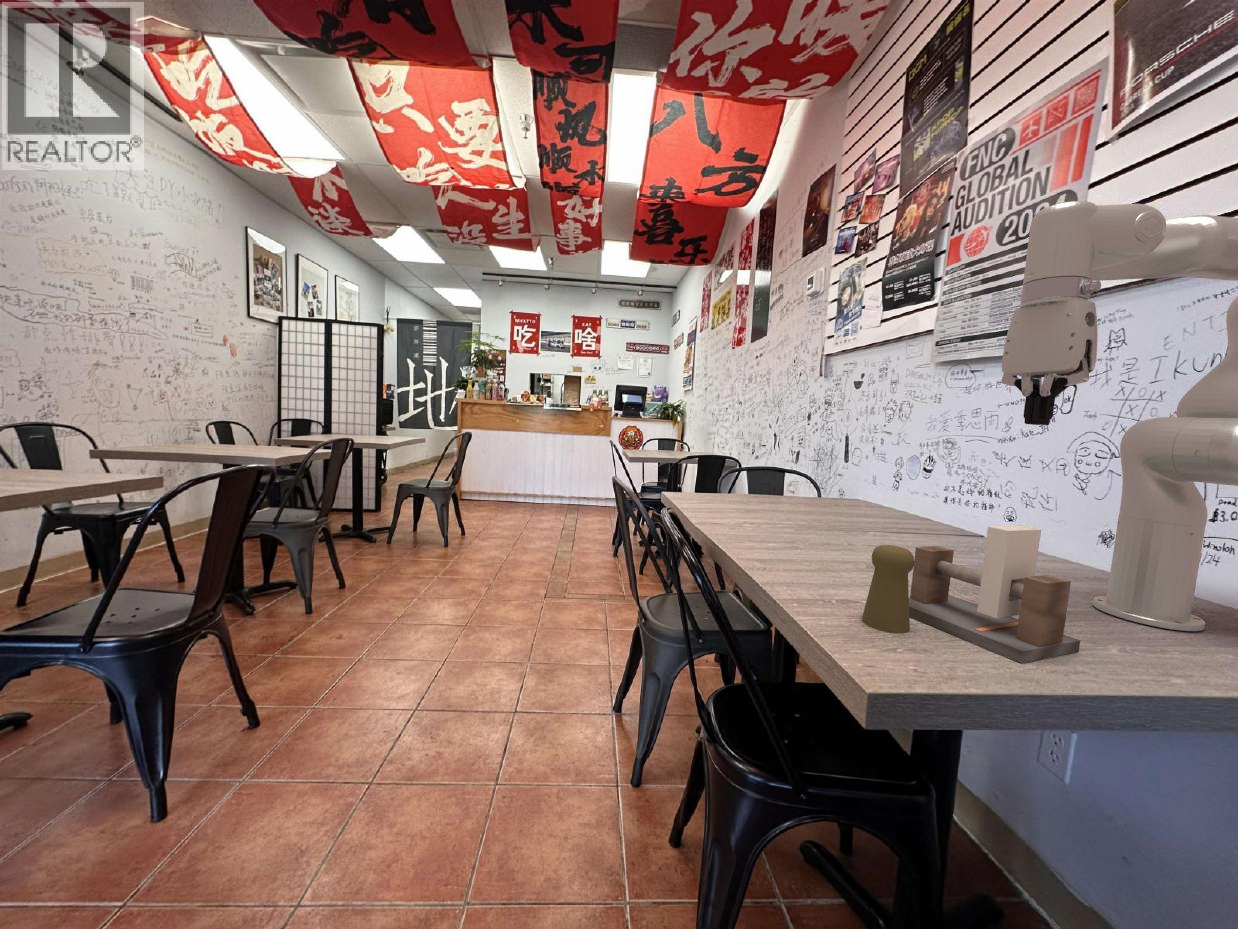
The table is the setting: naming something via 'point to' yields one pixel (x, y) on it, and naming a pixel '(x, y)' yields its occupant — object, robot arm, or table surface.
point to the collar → (1006, 567)
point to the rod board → (1005, 636)
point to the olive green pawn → (889, 590)
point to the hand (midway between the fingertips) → (1036, 424)
